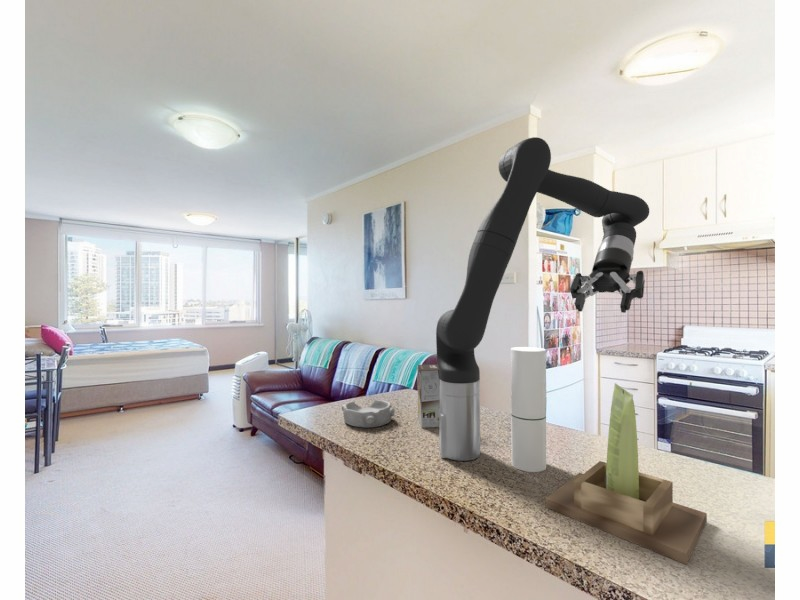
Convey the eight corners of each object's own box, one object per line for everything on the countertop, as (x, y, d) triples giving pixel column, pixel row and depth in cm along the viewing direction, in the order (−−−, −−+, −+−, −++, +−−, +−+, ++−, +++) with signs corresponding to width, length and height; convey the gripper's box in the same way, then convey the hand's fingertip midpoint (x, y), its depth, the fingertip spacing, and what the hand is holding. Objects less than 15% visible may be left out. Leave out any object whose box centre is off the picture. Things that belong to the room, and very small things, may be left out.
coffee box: (444, 427, 109) (443, 369, 109) (421, 428, 108) (420, 370, 108) (438, 416, 118) (437, 363, 118) (417, 417, 118) (416, 364, 117)
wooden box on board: (545, 507, 68) (545, 475, 68) (579, 480, 77) (579, 452, 77) (686, 564, 53) (686, 524, 53) (706, 522, 63) (706, 488, 63)
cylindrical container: (545, 460, 87) (545, 347, 86) (546, 474, 80) (546, 352, 80) (512, 456, 89) (511, 346, 89) (510, 469, 82) (509, 350, 82)
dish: (336, 419, 117) (336, 403, 117) (376, 411, 125) (376, 396, 125) (358, 433, 105) (357, 415, 105) (401, 424, 112) (401, 406, 112)
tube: (649, 508, 64) (649, 389, 64) (632, 517, 62) (632, 394, 61) (615, 493, 69) (615, 383, 69) (598, 501, 67) (598, 386, 66)
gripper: (578, 249, 94) (561, 297, 86) (647, 243, 85) (636, 297, 77) (584, 271, 98) (569, 320, 90) (651, 269, 89) (641, 322, 81)
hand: (600, 309), depth 83 cm, fingers open, 8 cm apart
